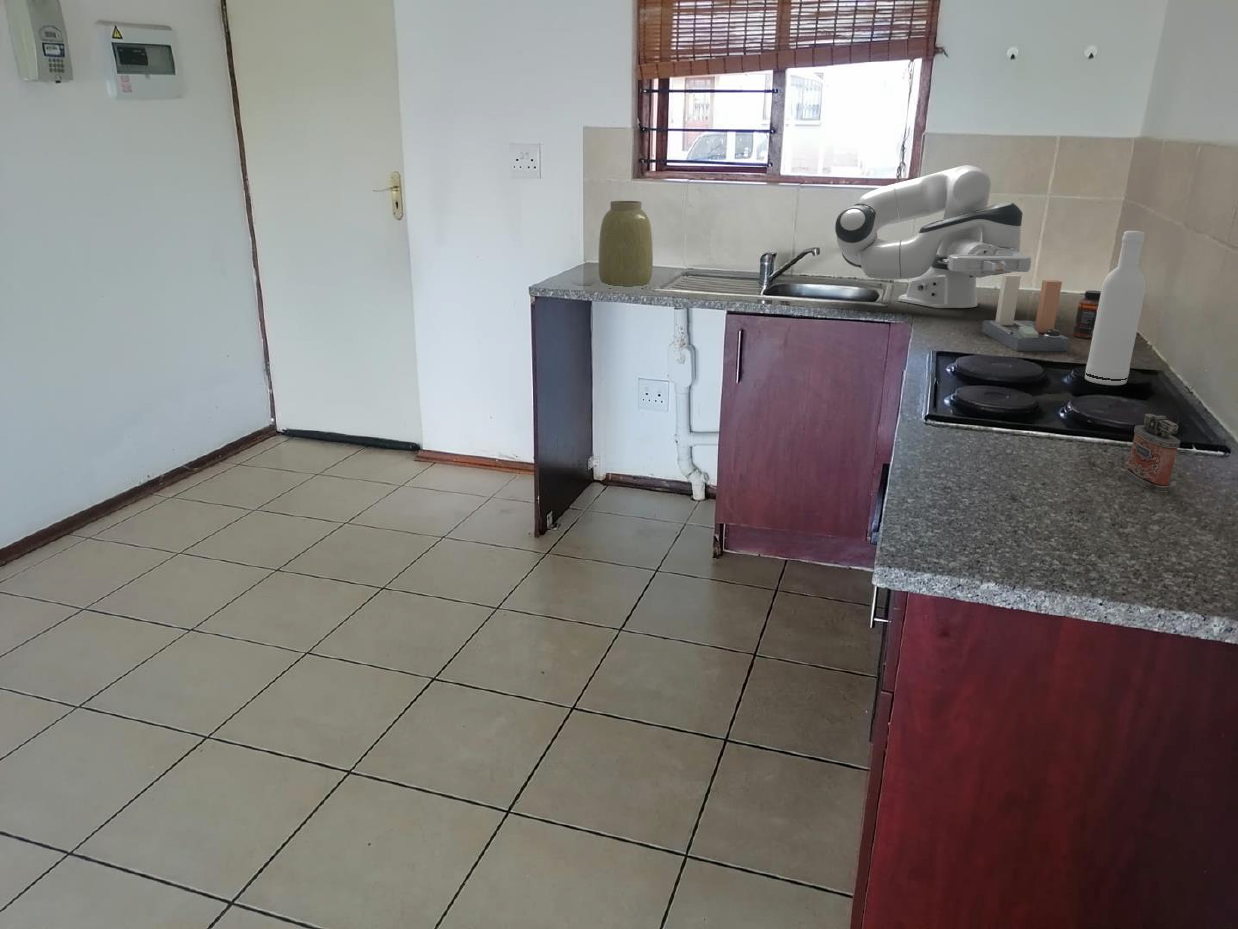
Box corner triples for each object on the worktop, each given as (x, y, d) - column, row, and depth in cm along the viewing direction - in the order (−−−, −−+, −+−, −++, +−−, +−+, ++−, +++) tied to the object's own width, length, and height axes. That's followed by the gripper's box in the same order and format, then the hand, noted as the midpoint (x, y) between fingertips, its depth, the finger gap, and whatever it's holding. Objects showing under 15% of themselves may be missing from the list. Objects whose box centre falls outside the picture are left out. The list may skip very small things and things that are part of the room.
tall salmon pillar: (1034, 330, 218) (1042, 280, 214) (1048, 330, 218) (1057, 280, 214) (1038, 332, 216) (1047, 281, 212) (1053, 332, 216) (1061, 281, 212)
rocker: (1018, 330, 214) (1019, 326, 214) (1030, 330, 214) (1032, 326, 214) (1024, 337, 211) (1025, 333, 210) (1037, 337, 211) (1038, 333, 210)
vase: (593, 285, 297) (593, 200, 288) (644, 283, 301) (645, 199, 292) (605, 294, 281) (605, 204, 272) (658, 292, 285) (660, 203, 276)
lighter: (1119, 472, 137) (1132, 409, 133) (1140, 471, 137) (1154, 408, 134) (1152, 492, 129) (1167, 425, 126) (1175, 491, 130) (1190, 425, 126)
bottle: (1123, 377, 189) (1153, 230, 179) (1130, 387, 182) (1161, 234, 172) (1081, 374, 192) (1108, 228, 181) (1086, 383, 185) (1115, 232, 174)
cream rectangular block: (995, 323, 226) (1002, 274, 222) (1009, 323, 226) (1016, 274, 222) (998, 324, 224) (1006, 276, 220) (1013, 325, 224) (1020, 276, 220)
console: (981, 332, 231) (984, 314, 230) (1028, 332, 232) (1031, 315, 230) (1016, 351, 212) (1019, 332, 210) (1067, 351, 212) (1070, 332, 210)
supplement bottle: (1102, 339, 224) (1111, 293, 220) (1076, 338, 225) (1084, 292, 221) (1095, 334, 229) (1104, 289, 225) (1070, 333, 230) (1078, 288, 226)
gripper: (941, 247, 239) (960, 254, 226) (1019, 247, 239) (1042, 254, 226) (938, 271, 241) (957, 279, 228) (1015, 272, 241) (1037, 280, 228)
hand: (1000, 267), depth 227 cm, fingers closed
